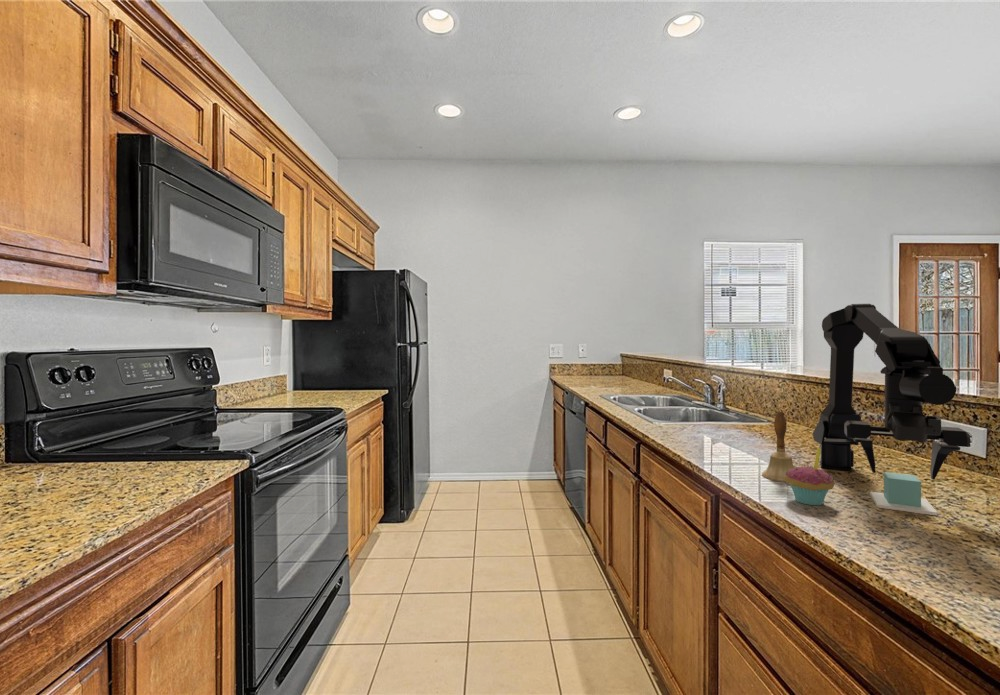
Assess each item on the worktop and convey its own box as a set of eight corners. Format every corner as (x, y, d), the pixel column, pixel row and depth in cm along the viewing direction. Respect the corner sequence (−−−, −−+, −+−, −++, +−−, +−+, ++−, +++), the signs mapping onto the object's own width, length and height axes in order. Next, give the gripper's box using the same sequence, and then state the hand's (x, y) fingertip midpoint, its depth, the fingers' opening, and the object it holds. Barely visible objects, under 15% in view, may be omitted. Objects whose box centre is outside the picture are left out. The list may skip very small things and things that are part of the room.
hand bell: (764, 480, 113) (764, 413, 113) (759, 471, 121) (759, 408, 121) (804, 484, 110) (805, 415, 110) (797, 474, 118) (797, 410, 117)
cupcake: (826, 497, 101) (826, 440, 101) (840, 511, 93) (840, 449, 93) (780, 493, 104) (780, 438, 104) (790, 506, 96) (790, 446, 96)
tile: (877, 507, 95) (877, 504, 95) (870, 494, 102) (870, 491, 102) (937, 515, 90) (937, 512, 90) (925, 501, 98) (925, 498, 98)
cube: (888, 503, 95) (888, 478, 95) (883, 495, 100) (883, 472, 99) (921, 507, 93) (921, 481, 93) (914, 499, 97) (915, 475, 97)
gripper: (850, 400, 93) (849, 479, 94) (981, 406, 84) (980, 494, 84) (844, 394, 103) (843, 465, 103) (961, 399, 93) (960, 478, 94)
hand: (902, 475), depth 96 cm, fingers open, 9 cm apart
